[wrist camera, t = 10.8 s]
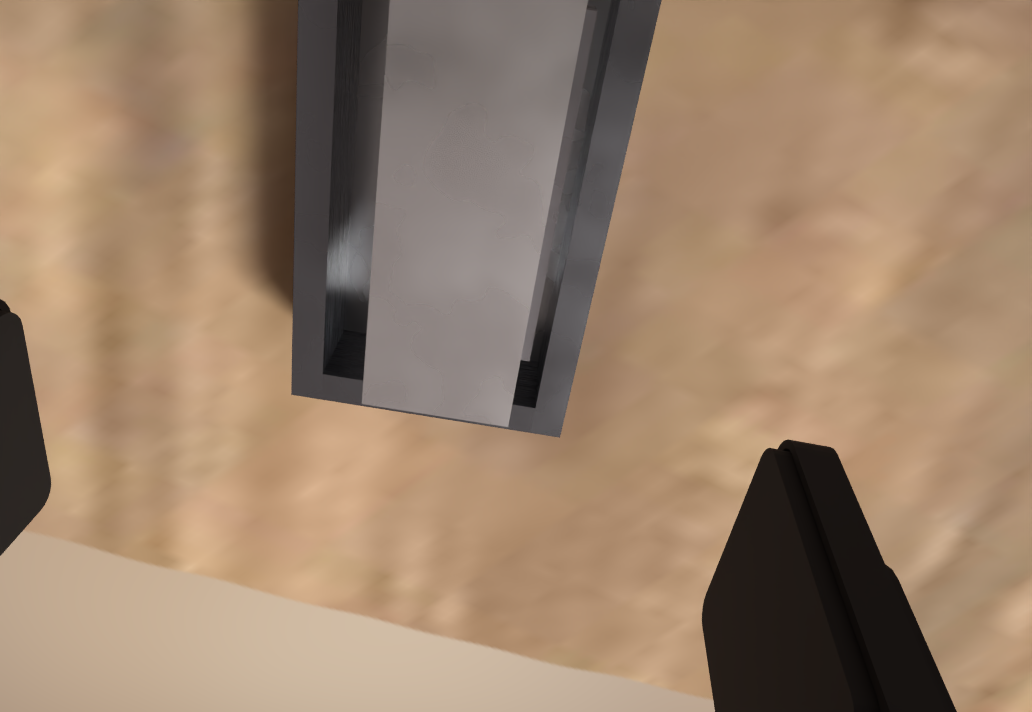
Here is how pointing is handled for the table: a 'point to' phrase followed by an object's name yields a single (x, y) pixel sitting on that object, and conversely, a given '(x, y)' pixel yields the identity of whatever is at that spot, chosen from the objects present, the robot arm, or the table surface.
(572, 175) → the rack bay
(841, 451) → the table surface
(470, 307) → the grey rectangular block
